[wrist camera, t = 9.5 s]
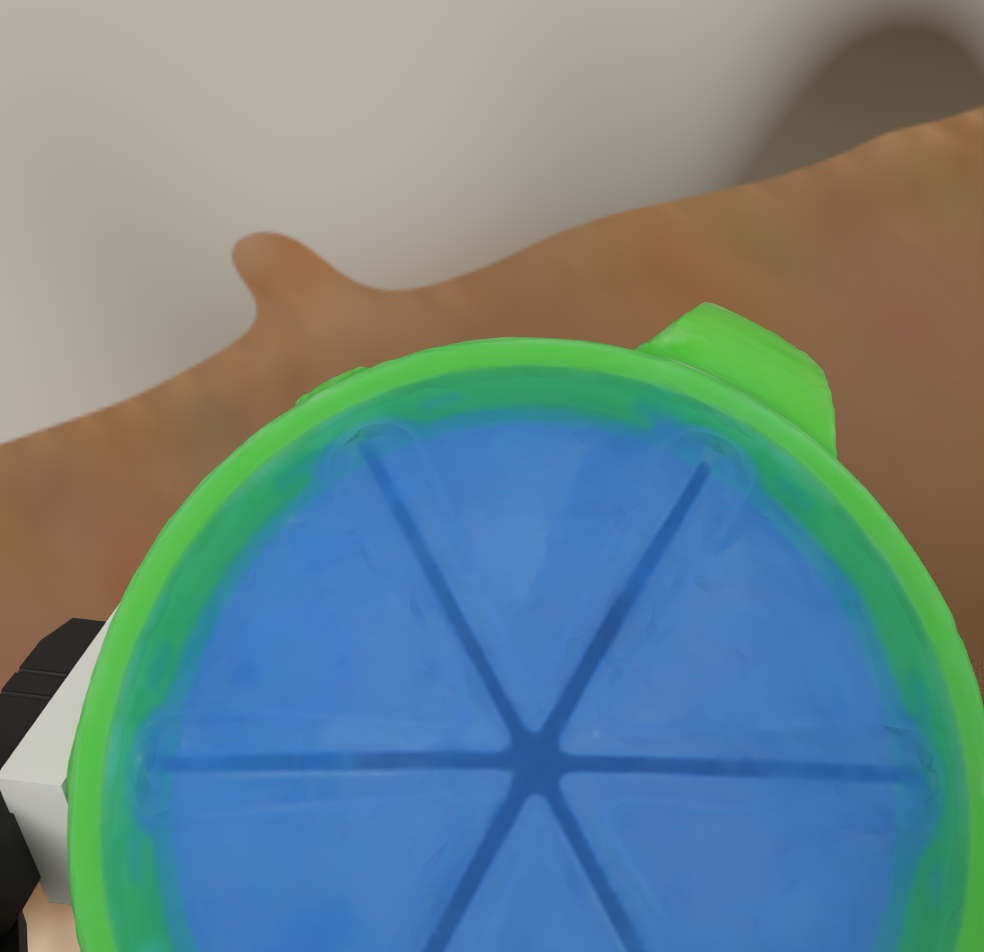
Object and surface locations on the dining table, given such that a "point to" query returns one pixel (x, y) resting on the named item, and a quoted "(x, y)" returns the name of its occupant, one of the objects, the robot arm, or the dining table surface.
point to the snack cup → (535, 676)
